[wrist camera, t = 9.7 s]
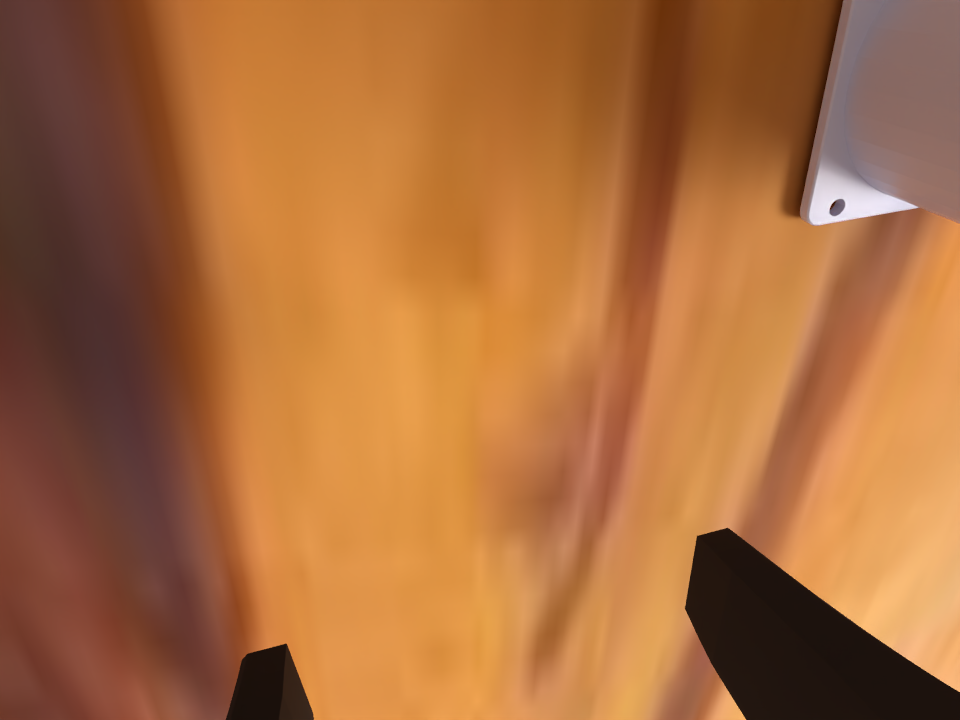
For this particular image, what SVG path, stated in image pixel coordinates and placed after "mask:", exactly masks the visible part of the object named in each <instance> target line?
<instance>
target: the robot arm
mask: <svg viewBox="0 0 960 720" xmlns="http://www.w3.org/2000/svg"><path fill="white" fill-rule="evenodd" d="M834 201H836V203H835V205H834V207H833V208H832V209H831V210H829V209H830V207H831V205H832V203H833V202H834ZM914 208H922V209H925V210H927V211H930V212H932V213H935V214H937V215H940V216H942V217H945V218H947V219H950V220H952V221H955V222H957V223H960V0H844V1H843V5H842V10H841V15H840V20H839V25H838V29H837V34H836V39H835V44H834V49H833V53H832V58H831V63H830V68H829V73H828V77H827V82H826V87H825V92H824V97H823V101H822V106H821V111H820V116H819V121H818V125H817V130H816V135H815V140H814V145H813V150H812V154H811V159H810V164H809V169H808V174H807V178H806V183H805V188H804V193H803V198H802V202H801V207H800V216H801V218H802V220H804V221H805V222H807V223H809V224H811V225H817V226H818V225H824V224H829V223H835V222H841V221H846V220H852V219H858V218H863V217H869V216H875V215H880V214H886V213H892V212H897V211H903V210H909V209H914ZM685 609H686V612H687V614H688V616H689V618H690V620H691V622H692V624H693V627H694V629H695V631H696V633H697V635H698V637H699V639H700V641H701V643H702V645H703V647H704V649H705V651H706V653H707V655H708V657H709V659H710V661H711V663H712V665H713V667H714V668H715V670H716V672H717V673H718V675H719V677H720V678H721V680H722V682H723V683H724V685H725V686H726V688H727V690H728V691H729V693H730V694H731V696H732V698H733V699H734V701H735V702H736V704H737V706H738V707H739V709H740V710H741V712H742V714H743V715H744V717H745V718H746V720H960V692H958V691H957V690H955V689H953V688H952V687H950V686H948V685H947V684H945V683H943V682H942V681H940V680H939V679H937V678H935V677H934V676H932V675H931V674H929V673H928V672H926V671H925V670H923V669H921V668H920V667H918V666H917V665H915V664H914V663H912V662H911V661H909V660H908V659H906V658H905V657H903V656H902V655H900V654H899V653H897V652H896V651H894V650H893V649H891V648H890V647H888V646H887V645H885V644H884V643H882V642H881V641H879V640H878V639H876V638H875V637H874V636H872V635H871V634H869V633H868V632H866V631H865V630H863V629H862V628H861V627H859V626H858V625H856V624H855V623H854V622H852V621H851V620H850V619H848V618H847V617H845V616H844V615H843V614H841V613H840V612H838V611H837V610H836V609H834V608H833V607H832V606H830V605H829V604H827V603H826V602H825V601H823V600H822V599H821V598H819V597H818V596H816V595H815V594H814V593H812V592H811V591H810V590H808V589H807V588H806V587H804V586H803V585H802V584H801V583H799V582H798V581H797V580H795V579H794V578H793V577H791V576H790V575H789V574H787V573H786V572H785V571H783V570H782V569H781V568H780V567H778V566H777V565H776V564H774V563H773V562H772V561H770V560H769V559H768V558H767V557H765V556H764V555H763V554H761V553H760V552H759V551H758V550H756V549H755V548H754V547H752V546H751V545H750V544H748V543H747V542H746V541H745V540H743V539H742V538H741V537H739V536H738V535H737V534H735V533H734V532H733V531H731V530H730V529H729V528H726V529H722V530H718V531H714V532H710V533H707V534H703V535H699V536H697V540H696V546H695V552H694V558H693V564H692V570H691V576H690V582H689V588H688V594H687V600H686V606H685ZM226 720H314V717H313V712H312V709H311V707H310V704H309V701H308V699H307V696H306V693H305V691H304V688H303V686H302V683H301V680H300V678H299V675H298V672H297V670H296V667H295V664H294V662H293V659H292V657H291V654H290V651H289V649H288V646H287V644H283V645H280V646H276V647H272V648H268V649H264V650H260V651H257V652H253V653H249V654H247V655H246V656H245V657H244V658H243V660H242V662H241V666H240V670H239V675H238V679H237V682H236V686H235V690H234V693H233V697H232V701H231V704H230V708H229V711H228V714H227V718H226Z"/></svg>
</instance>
